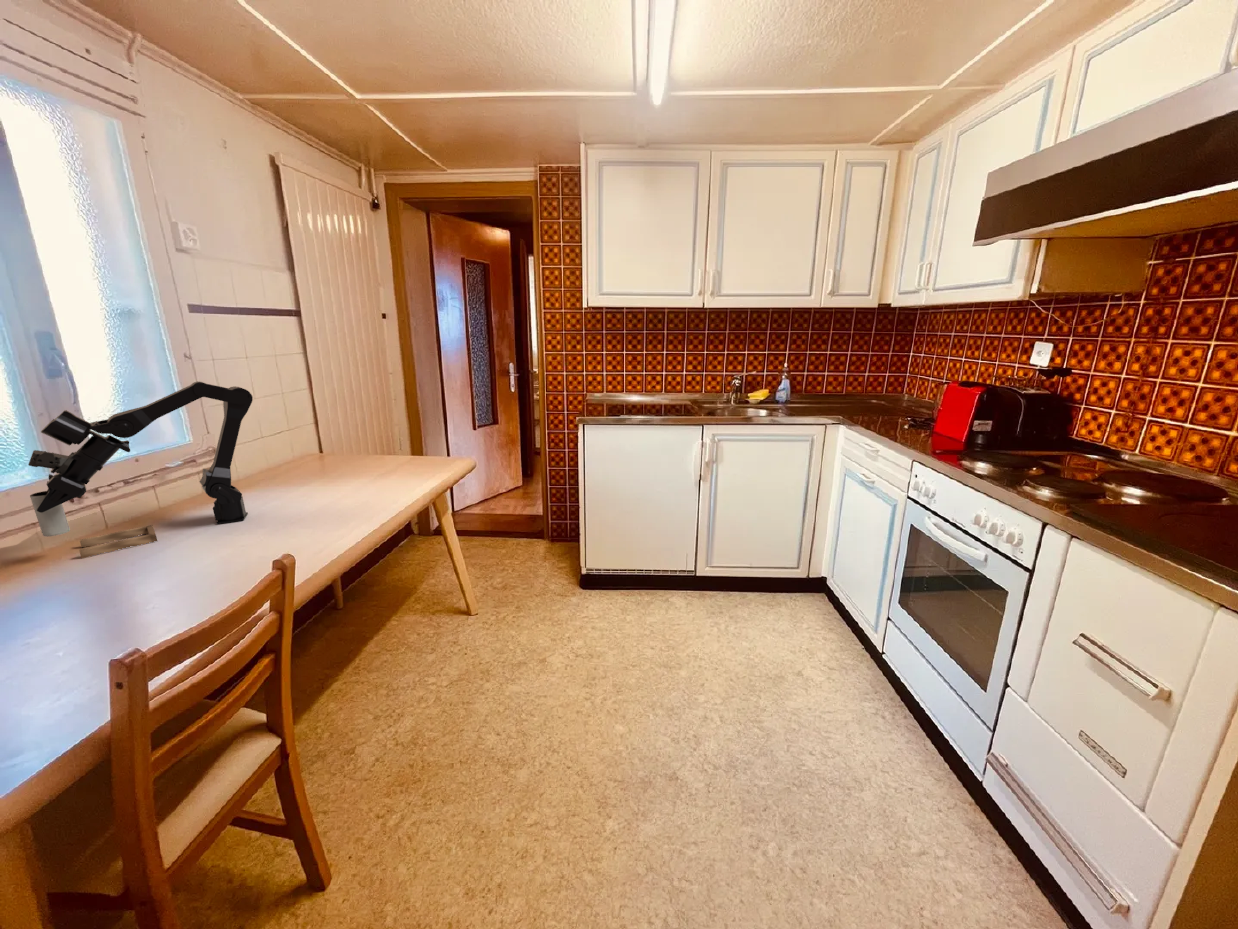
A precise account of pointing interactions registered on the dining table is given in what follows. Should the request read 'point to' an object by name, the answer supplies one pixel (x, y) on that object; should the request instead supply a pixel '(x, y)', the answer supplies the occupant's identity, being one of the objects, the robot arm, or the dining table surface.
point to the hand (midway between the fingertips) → (39, 509)
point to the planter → (50, 517)
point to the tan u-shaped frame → (118, 544)
